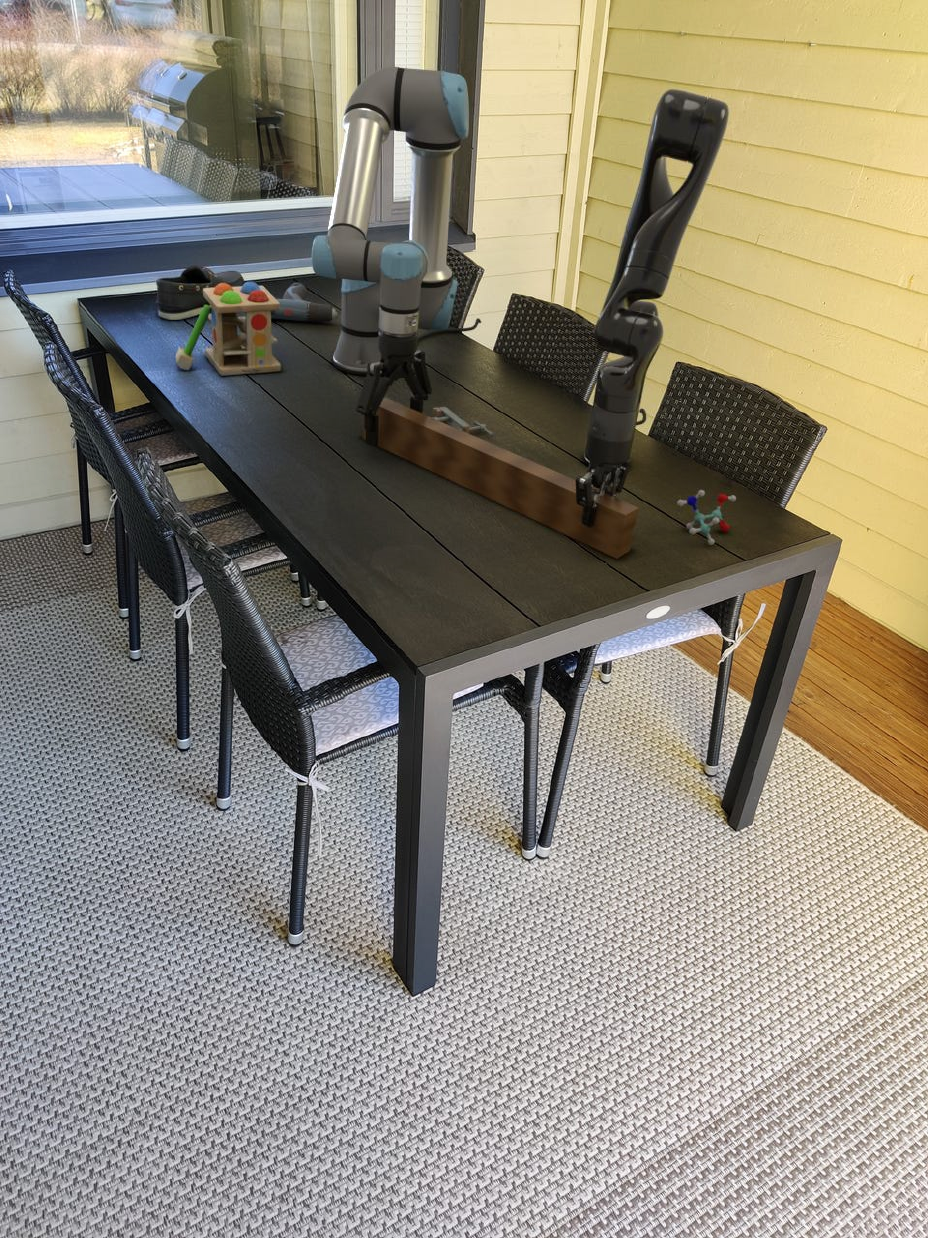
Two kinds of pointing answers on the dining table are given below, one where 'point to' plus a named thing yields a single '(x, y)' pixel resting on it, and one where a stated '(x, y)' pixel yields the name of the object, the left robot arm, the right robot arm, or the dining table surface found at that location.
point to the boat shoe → (190, 291)
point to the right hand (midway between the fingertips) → (595, 520)
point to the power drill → (301, 307)
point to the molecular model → (700, 517)
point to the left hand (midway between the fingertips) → (393, 436)
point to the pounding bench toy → (229, 347)
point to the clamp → (456, 421)
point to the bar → (504, 477)
